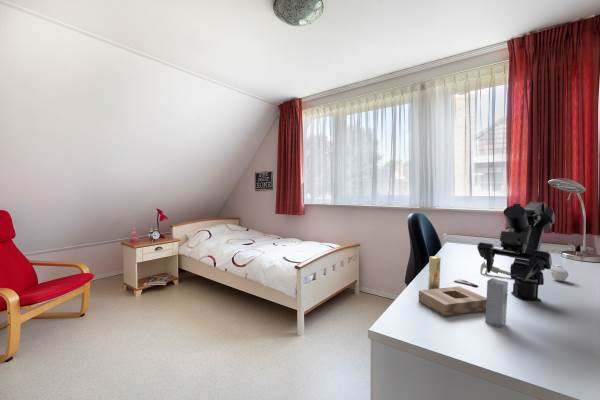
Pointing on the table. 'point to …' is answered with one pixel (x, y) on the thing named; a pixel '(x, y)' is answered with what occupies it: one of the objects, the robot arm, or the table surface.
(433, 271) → the brass pin
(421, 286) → the table surface
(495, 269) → the caliper
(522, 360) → the table surface
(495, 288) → the grey rectangular block
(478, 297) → the bore block
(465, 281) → the usb flash drive
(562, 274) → the crumpled paper ball
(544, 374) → the table surface
